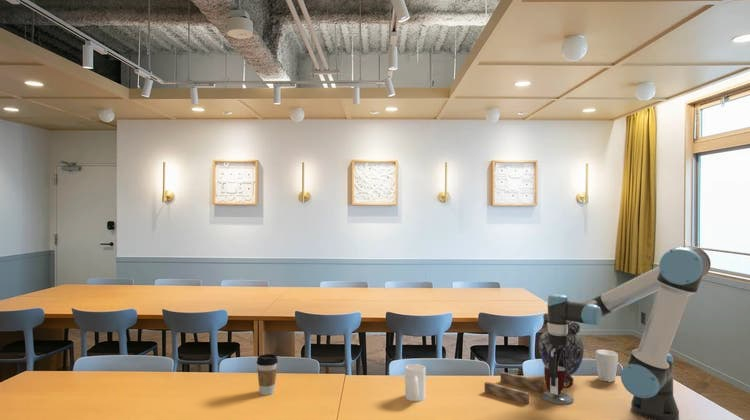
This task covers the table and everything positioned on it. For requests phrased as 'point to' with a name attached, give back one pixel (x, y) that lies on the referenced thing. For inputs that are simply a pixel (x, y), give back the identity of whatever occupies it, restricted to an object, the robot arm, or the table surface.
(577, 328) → the decorative vase
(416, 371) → the mug
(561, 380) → the mug
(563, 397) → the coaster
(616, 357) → the cup
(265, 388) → the coffee cup
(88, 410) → the table surface
